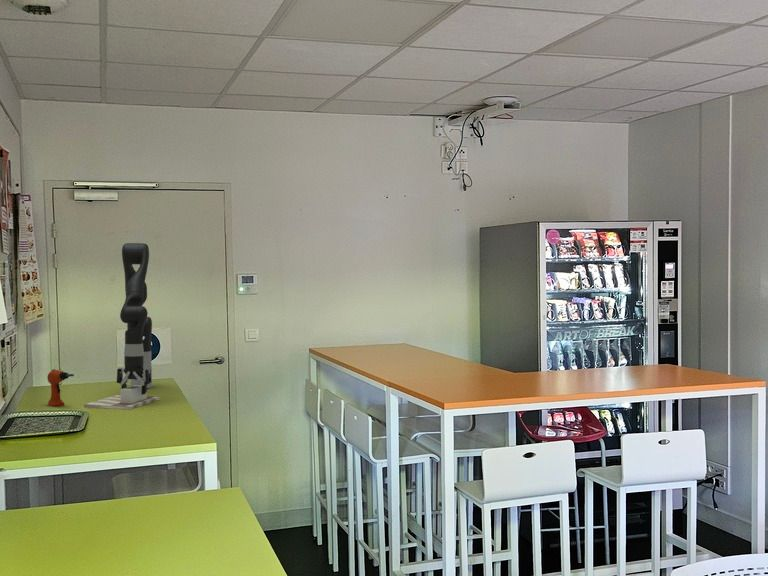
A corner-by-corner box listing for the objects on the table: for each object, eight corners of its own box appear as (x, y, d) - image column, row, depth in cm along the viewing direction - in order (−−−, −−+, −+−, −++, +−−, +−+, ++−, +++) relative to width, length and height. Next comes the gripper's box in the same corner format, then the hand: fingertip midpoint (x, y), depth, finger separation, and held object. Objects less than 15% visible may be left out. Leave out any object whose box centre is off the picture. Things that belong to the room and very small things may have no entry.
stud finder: (135, 398, 324) (135, 384, 324) (146, 398, 323) (146, 384, 323) (120, 402, 313) (120, 388, 312) (131, 403, 312) (131, 389, 311)
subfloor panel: (116, 397, 333) (116, 394, 333) (159, 399, 329) (159, 396, 329) (84, 407, 309) (84, 404, 309) (129, 409, 305) (129, 406, 305)
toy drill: (69, 406, 303) (66, 368, 304) (45, 407, 315) (43, 370, 315) (81, 404, 306) (78, 367, 307) (57, 405, 318) (54, 369, 319)
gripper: (154, 354, 320) (154, 393, 320) (123, 353, 323) (123, 392, 323) (145, 356, 312) (145, 396, 313) (113, 355, 315) (113, 394, 316)
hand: (134, 394), depth 318 cm, fingers open, 8 cm apart
